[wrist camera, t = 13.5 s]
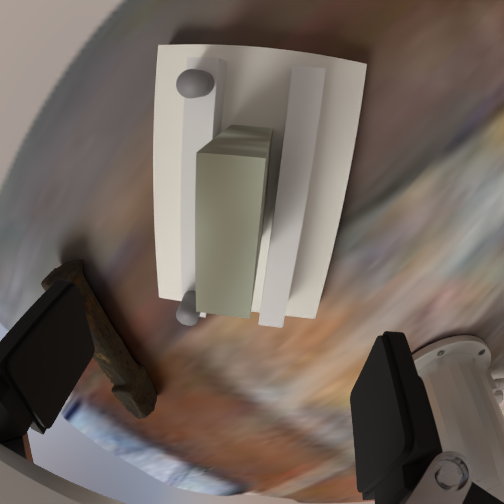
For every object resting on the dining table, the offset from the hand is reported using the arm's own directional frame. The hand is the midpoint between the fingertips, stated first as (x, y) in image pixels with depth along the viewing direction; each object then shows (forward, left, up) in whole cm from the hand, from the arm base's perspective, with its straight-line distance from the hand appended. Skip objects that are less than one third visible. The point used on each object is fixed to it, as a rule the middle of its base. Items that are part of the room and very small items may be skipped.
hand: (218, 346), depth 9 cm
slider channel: (+1, 0, -14) cm, 14 cm away
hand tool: (+12, +16, -14) cm, 24 cm away
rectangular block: (+1, -1, -12) cm, 12 cm away
